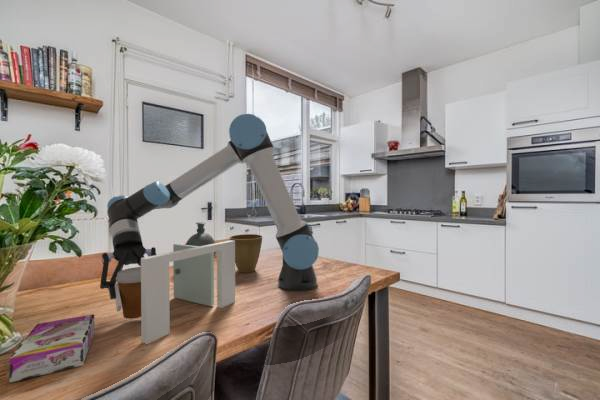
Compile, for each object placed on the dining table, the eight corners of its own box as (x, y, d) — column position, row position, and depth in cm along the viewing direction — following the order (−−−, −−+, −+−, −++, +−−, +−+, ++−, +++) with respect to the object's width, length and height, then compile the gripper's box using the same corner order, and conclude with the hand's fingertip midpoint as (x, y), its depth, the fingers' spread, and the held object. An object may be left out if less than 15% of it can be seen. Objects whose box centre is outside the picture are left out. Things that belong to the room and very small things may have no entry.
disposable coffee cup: (127, 324, 70) (126, 277, 70) (109, 316, 75) (108, 272, 75) (163, 311, 78) (162, 268, 78) (144, 304, 83) (144, 264, 83)
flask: (222, 267, 135) (222, 222, 134) (187, 274, 123) (187, 224, 123) (212, 263, 143) (211, 220, 143) (178, 269, 131) (177, 222, 131)
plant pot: (232, 267, 135) (231, 234, 135) (262, 266, 137) (262, 233, 136) (227, 275, 120) (227, 239, 120) (262, 274, 122) (262, 238, 122)
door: (215, 304, 88) (215, 247, 88) (209, 307, 86) (209, 249, 85) (178, 295, 96) (178, 243, 95) (171, 298, 93) (171, 244, 93)
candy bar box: (94, 312, 71) (84, 342, 56) (94, 331, 71) (84, 366, 57) (35, 322, 65) (7, 358, 51) (35, 343, 65) (8, 385, 51)
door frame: (230, 300, 92) (230, 240, 92) (235, 301, 91) (235, 240, 91) (141, 342, 66) (140, 258, 65) (146, 344, 65) (146, 259, 64)
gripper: (161, 241, 95) (177, 300, 83) (82, 249, 81) (89, 322, 69) (165, 226, 91) (183, 287, 79) (83, 233, 77) (90, 307, 65)
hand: (139, 303), depth 74 cm, fingers closed on disposable coffee cup, 8 cm apart
